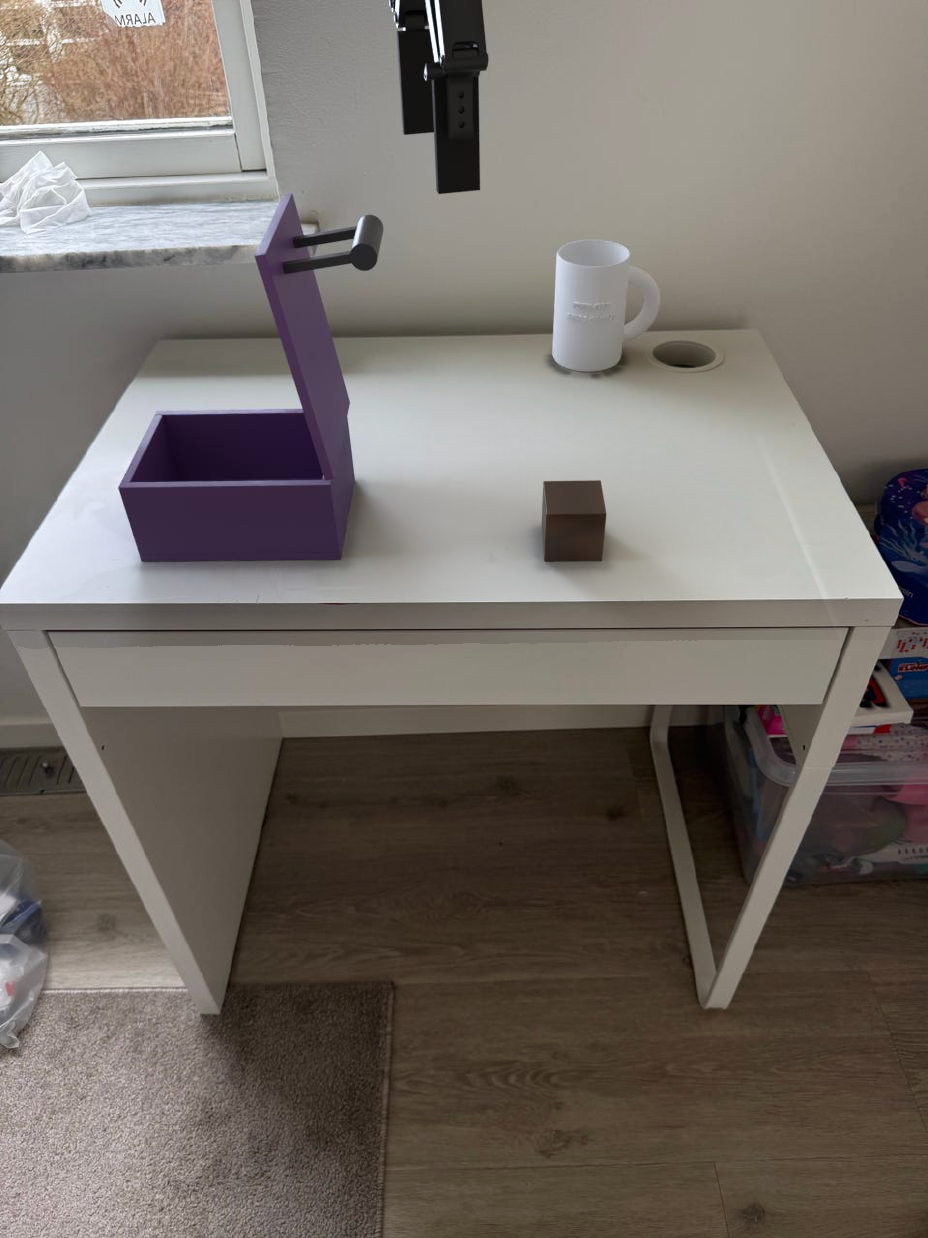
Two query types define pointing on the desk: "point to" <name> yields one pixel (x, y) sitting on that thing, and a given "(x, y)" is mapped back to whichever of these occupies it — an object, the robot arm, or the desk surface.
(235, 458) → the purple box
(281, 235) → the purple hinged box lid
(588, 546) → the block
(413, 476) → the desk surface
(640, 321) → the mug
